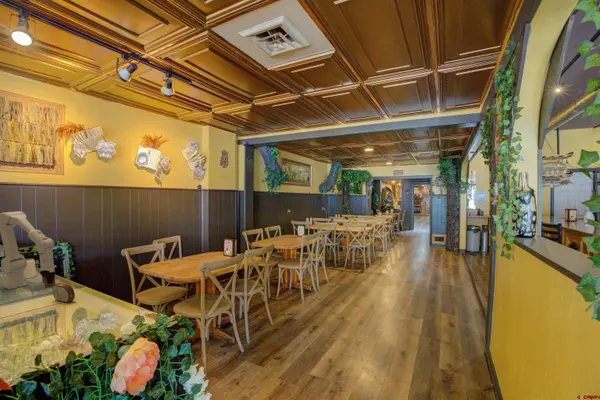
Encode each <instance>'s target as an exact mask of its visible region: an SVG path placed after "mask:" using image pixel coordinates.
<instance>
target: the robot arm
mask: <svg viewBox="0 0 600 400" xmlns="http://www.w3.org/2000/svg"><path fill="white" fill-rule="evenodd" d="M17 225H18V226H19V227H20V228H22V229H23V230H24V231H25V232H26V233H27V237H28V238H29V239H30V240H31V241H32V242H33V243H34V244H35V249H36V250H37V253H38V255H39V264H40V269H39V270H40V271H38V272H39V274H40V275H41V278H42V277H43V276H45V277H46V279H47V283H48V284H51V283H53V281H54V276H55V275H56V274H57V270H55V268H57V265H55V264H54V252H53V248H54V247H55V241H54V239H53V238H50V237H47V236H46V235H45V234H44V233H43V232H42V230H40V229H36V228H35V227H34V225H32V224H31V223H30V221H29V220H28V219H27V215H26V214H25V212H24V211H21V210H18V211H8V212H4V211H3V212H0V235H1V240H2V244H3V249H4V253H5V257H4V258H3V259H1V261H0V263H1V266H0V270H1V272H2V273H3V274H5V282H6V285H5V286H3V287H4V288H5V289H7V290H13V289H17V288H21V287H25V286H28V283H26V282H25V280H26V279H24V270H25V267H26V266H27V261H26V260H25V259H26V258H25V256H24V255H22V254H20V253H19V248H18V244H17V239H16V235H15V234H16V233H15V231H14V228H15V227H16V226H17ZM55 277H56V276H55Z"/></svg>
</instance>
